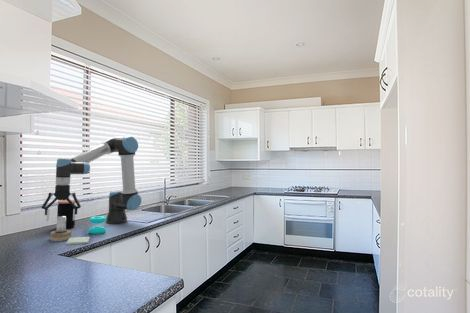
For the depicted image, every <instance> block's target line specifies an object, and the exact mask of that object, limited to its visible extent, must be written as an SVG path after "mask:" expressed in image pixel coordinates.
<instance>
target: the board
mask: <svg viewBox="0 0 470 313" xmlns="http://www.w3.org/2000/svg"><path fill="white" fill-rule="evenodd" d="M90 239H91V236H79V237H78V236H77V237H71V238H69V239H68V240H66V243H65V244H66V246H68V245H69V246H70V245H81V244H82V245H83V244H84V245H85V244H89V242H90Z"/></svg>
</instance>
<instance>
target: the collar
mask: <svg viewBox="0 0 470 313" xmlns="http://www.w3.org/2000/svg"><path fill="white" fill-rule="evenodd" d="M49 237H50V241H53V242H62V241H63V240H64V241H68V239H69V238H72V230H71V229H70V230H69V229H66V232H65V233H56V230H53V231H51V232H50V236H49Z"/></svg>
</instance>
